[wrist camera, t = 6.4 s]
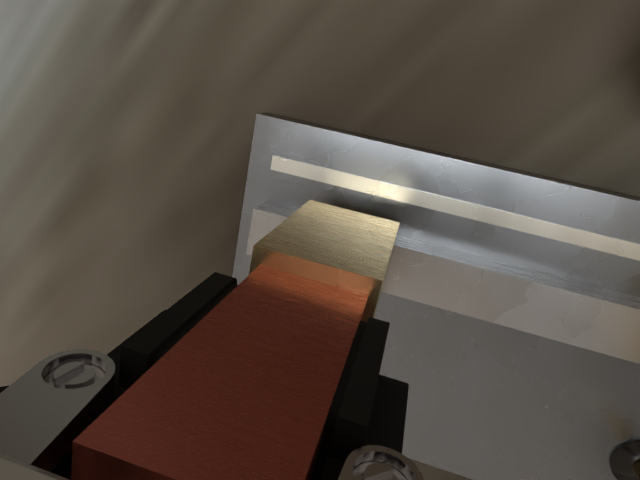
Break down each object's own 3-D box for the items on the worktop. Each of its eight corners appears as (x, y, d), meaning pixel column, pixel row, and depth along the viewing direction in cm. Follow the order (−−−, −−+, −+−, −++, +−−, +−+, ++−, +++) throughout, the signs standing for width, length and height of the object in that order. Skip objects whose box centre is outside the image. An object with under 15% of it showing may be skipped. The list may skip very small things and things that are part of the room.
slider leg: (355, 390, 22) (224, 862, 8) (282, 367, 22) (49, 774, 9) (402, 215, 19) (318, 498, 6) (317, 193, 19) (56, 404, 6)
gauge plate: (716, 541, 21) (886, 811, 13) (224, 380, 25) (123, 514, 17) (900, 256, 17) (1326, 404, 9) (266, 112, 21) (156, 122, 13)
